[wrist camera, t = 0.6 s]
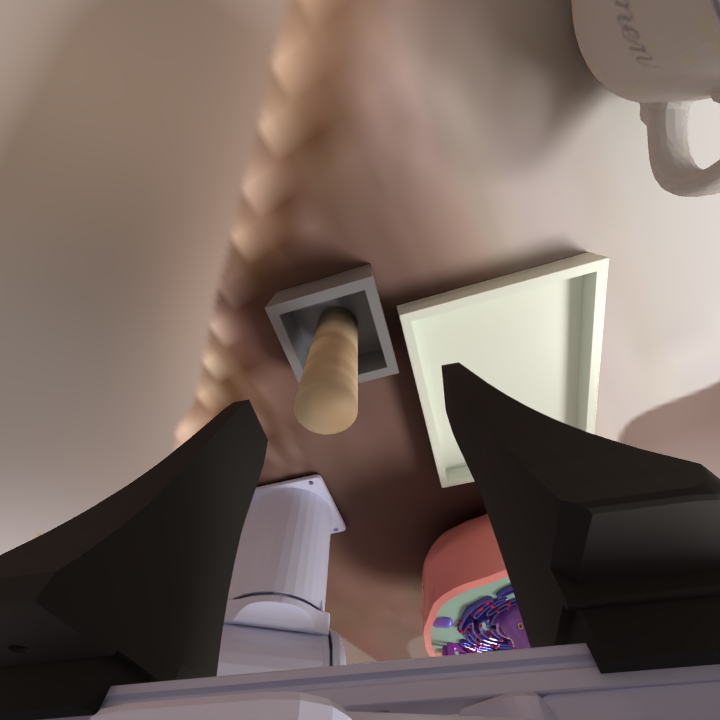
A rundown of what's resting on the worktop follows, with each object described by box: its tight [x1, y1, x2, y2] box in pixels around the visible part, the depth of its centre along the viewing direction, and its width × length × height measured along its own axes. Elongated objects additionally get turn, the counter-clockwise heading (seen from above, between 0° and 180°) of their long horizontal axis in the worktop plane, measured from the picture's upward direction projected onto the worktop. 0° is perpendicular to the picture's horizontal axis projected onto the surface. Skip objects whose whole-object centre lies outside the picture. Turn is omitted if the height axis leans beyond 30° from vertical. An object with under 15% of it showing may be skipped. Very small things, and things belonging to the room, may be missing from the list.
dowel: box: [293, 306, 358, 434], centre depth 17 cm, size 3×3×9 cm
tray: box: [396, 252, 609, 488], centre depth 23 cm, size 12×16×2 cm
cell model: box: [421, 513, 531, 657], centre depth 28 cm, size 17×20×11 cm
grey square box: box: [265, 263, 399, 384], centre depth 20 cm, size 6×6×3 cm
